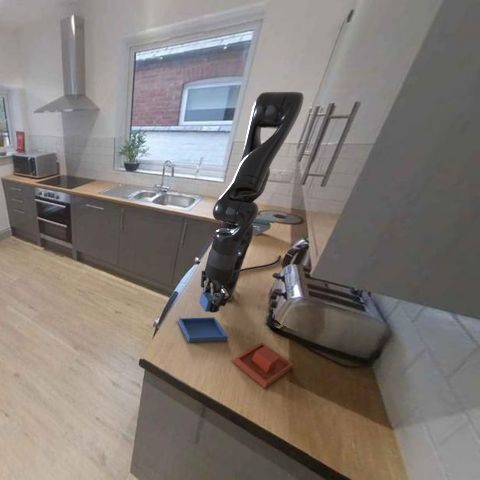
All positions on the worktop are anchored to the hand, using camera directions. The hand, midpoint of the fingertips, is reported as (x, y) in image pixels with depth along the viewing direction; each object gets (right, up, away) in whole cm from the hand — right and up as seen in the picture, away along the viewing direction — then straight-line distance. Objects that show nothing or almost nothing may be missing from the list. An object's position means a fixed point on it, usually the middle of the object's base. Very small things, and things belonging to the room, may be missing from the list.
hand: (208, 306), depth 85 cm
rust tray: (+13, -16, -7) cm, 22 cm away
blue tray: (0, -10, +5) cm, 12 cm away
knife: (+35, -6, +14) cm, 39 cm away
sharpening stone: (+66, +28, +82) cm, 109 cm away
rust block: (+13, -16, -8) cm, 22 cm away
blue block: (0, 0, 0) cm, 0 cm away
